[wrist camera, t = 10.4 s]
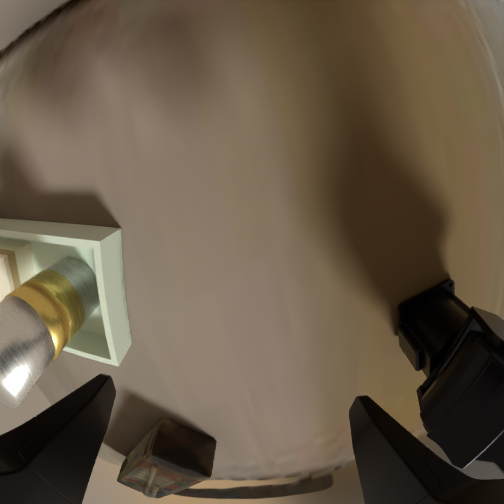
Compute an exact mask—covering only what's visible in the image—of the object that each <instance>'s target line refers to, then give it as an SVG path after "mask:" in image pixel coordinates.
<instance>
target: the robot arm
mask: <svg viewBox="0 0 504 504" xmlns="http://www.w3.org/2000/svg"><path fill="white" fill-rule="evenodd" d="M403 307H404V309H402V308H403ZM398 316H399V323H400V325H399V326H398V335H399V344H400V347H401V348H402V351H403V353H404V354H405V355H406V356H407V358H408V359H409V361H410V362H411V364H412V365H413V367H414V369H415V370H416V371H420V370H422V371H423V372H424V374H425V375H426V377H427V379H426V380H425V382H424V383H423V384H422V385H420V387H419V388H418V389H417V395H418V400H419V405H420V411H421V412H420V417H421V420H422V422H423V425H424V428H425V430H426V431H427V432H428V434H427V436H428V437H429V438H430V439H431V440H433V441H434V442H436V443H437V444H438V445H439V446H440V447H441V448H442V449H443V451H444V452H445V454H446V455H447V457H448V458H449V459H450V461H451V463H452V464H453V465H455V466H457V467H459V468H462V469H463V468H465V467H467V466H468V465H469V464H470V463H471V462H472V461H479V462H486V463H493V464H494V465H496V466H497V467H498V469H499V470H500V471H501V472H502V473H503V474H504V320H502V319H501V318H500V317H499V316H497V315H495V314H493V313H490V312H487V311H484V310H482V309H479V308H476V307H473V306H472V307H471V309H470V308H469V307H468V306H467V305H466V304H465V303H463V302H462V301H461V300H460V299H459V298H458V297H456V296H455V294H454V281H453V280H452V279H450V278H449V279H447V280H445V281H443V282H441V283H440V284H438V285H436V286H434V287H432V288H430V289H428V290H426V291H425V292H423V293H421V294H419V295H417V296H415V297H413V298H411V299H409V300H407V301H405V302H403V303H401V304H400V305H399V306H398ZM115 396H116V390H115V386H114V383H113V380H112V377H111V376H109V375H106V374H99V375H98V376H96V377H95V378H93V379H92V380H90V381H89V382H87V383H85V384H84V385H82V386H81V387H79V388H78V389H76V390H75V391H73V392H72V393H70V394H69V395H67V396H66V397H64V398H63V399H61V400H60V401H58V402H57V403H55V404H54V405H52V406H50V407H49V408H47V409H46V410H45V411H43V412H41V413H40V414H38V415H37V416H36V417H33V418H32V419H30V420H29V421H27V422H25V423H24V424H22V425H20V426H18V427H16V428H15V429H13V430H11V431H9V432H7V433H4V434H2V435H0V504H82V501H83V498H84V495H85V491H86V488H87V485H88V482H89V479H90V476H91V473H92V469H93V467H94V464H95V461H96V458H97V455H98V452H99V450H100V447H101V444H102V441H103V439H104V436H105V433H106V430H107V427H108V424H109V419H110V415H111V411H112V407H113V404H114V400H115ZM349 419H350V427H351V436H352V445H353V451H354V455H355V459H356V464H357V468H358V473H359V477H360V482H361V487H362V492H363V497H364V502H365V504H504V479H492V480H478V479H474V478H471V477H469V476H467V475H466V474H464V473H463V472H461V471H459V470H458V469H456V468H454V467H453V466H451V465H450V464H448V463H447V462H445V461H444V460H443V459H441V458H440V457H438V456H437V455H436V454H435V453H433V452H432V451H431V450H430V449H429V448H427V447H426V446H425V445H424V444H423V443H421V442H420V441H419V440H418V439H417V438H415V437H414V436H413V435H412V434H411V433H410V432H408V431H407V430H406V429H405V428H404V427H403V426H401V425H400V424H399V423H398V422H397V421H396V420H395V419H393V418H392V417H391V416H390V415H389V414H388V413H387V412H385V411H384V410H383V409H382V408H381V407H380V406H379V405H377V404H376V403H375V402H374V401H373V400H372V399H371V398H370V397H368V396H366V395H364V396H357V397H356V398H355V400H354V402H353V404H352V406H351V408H350V410H349Z"/></svg>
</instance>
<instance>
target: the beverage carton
mask: <svg viewBox="0 0 504 504" xmlns="http://www.w3.org/2000/svg"><path fill="white" fill-rule="evenodd" d="M216 442H217V441H216V440H214V439H211V438H209V437H207V436H204V435H201V434H199V433H197V432H195V431H192V430H190V429H189V428H186V427H184V426H182V425H180V424H178V423H175V422H173V421H171V420H170V419H168V418H163V419H162V420H161V421H160V422H159V423H158V424H157V425H156V426H155V427H154V428H153V429H152V430H151V431H150V432H149V433H148V434H147V435H146V436H145V437H144V438H143V439H142V440H141V441H140V443H139V444H138V445H137V446H136V447H135V448H134V449H133V450H132V451H131V452H130V454H129V455H128V456H127V457H126V459H125V460H124V462H123V464H122V466H121V469H120V473H119V476H118V478H117V481H118V482H119V483H121V484H123V485H126V486H128V487H130V488H132V489H135V490H137V491H139V492H142V493H143V494H144V495H145V496H147V497H151V498H153V497H154V498H161V497H164V496H167V495H170V494H173V493H175V492H178V491H181V490H183V489H186V488H188V487H190V486H193V485H195V484H197V483H199V482H201V481H204V480H206V479H207V478H210V477H211V474H212V468H213V461H214V455H215V449H216Z"/></svg>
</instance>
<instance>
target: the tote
mask: <svg viewBox="0 0 504 504" xmlns="http://www.w3.org/2000/svg"><path fill="white" fill-rule="evenodd" d="M2 239H6V240H13V241H19V242H26V243H31V250H32V257H33V263H34V269H35V274H37V273H39V272H40V271H42V270H45V269H47V268H48V267H50V266H51V265H53V264H54V263H56V262H57V261H59V260H60V259H62V258H64V257H67V256H72V257H76V258H79V259H81V260H82V261H84V262H85V263H86V264H87V265H88V266H89V267H90V268H91V269H92V270H93V272H94V273H95V275H96V279H97V286H98V294H99V300H100V304H99V306H98V307H97V309H96V310H95V311H94V312H93V313H92V314H91V315H90V316H89V317H88V319H87V320H86V321H85V322H84V323H83V326H82V327H81V328H80V330H79V331H78V332H77V333H76V334H75V335H74V337H73V338H72V339H71V340H70V341H69V343H68V344H67V345H66V346H65V347H64V349H63V350H64V351H67V352H70V353H73V354H77V355H80V356H83V357H86V358H90V359H93V360H96V361H100V362H103V363H107V364H111V365H115V366H119V365H120V363H121V361H122V360H123V358H124V356H125V354H126V352H127V351H128V349H129V347H130V346H131V344H132V341H131V335H130V328H129V321H128V313H127V305H126V295H125V285H124V273H123V258H122V235H121V228H114V227H103V226H92V225H80V224H69V223H57V222H45V221H32V220H20V219H7V218H0V240H2Z"/></svg>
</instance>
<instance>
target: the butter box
mask: <svg viewBox="0 0 504 504" xmlns="http://www.w3.org/2000/svg"><path fill="white" fill-rule="evenodd" d="M34 275H36V274H35V269H34V263H33V257H32V250H31V243H26V242H19V241H13V240H6V239H2V240H0V302H1V301H2V300H3V299H4V297H5V296H6V295H8V294H9V293H11V292H12V291H13V290H15V289H16V288H17V287H19V286H20V285H22V284H23V283H24V282H26V281H27V280H29V279H30V278H31V277H33V276H34Z"/></svg>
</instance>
